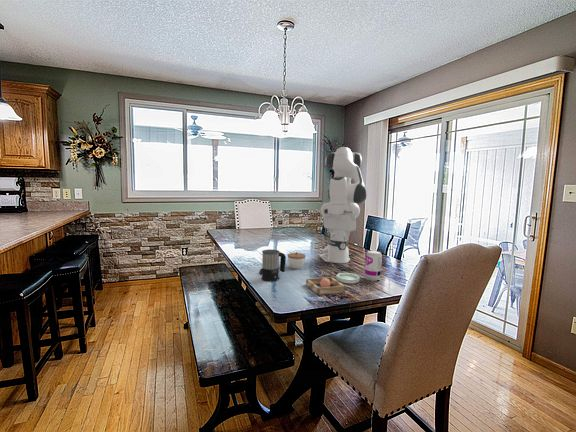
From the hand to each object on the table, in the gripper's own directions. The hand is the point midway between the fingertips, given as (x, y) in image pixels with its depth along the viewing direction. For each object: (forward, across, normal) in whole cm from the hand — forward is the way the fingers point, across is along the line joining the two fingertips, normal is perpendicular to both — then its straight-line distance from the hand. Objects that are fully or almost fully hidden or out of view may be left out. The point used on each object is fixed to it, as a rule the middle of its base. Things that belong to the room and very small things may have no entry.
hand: (339, 239), depth 144 cm
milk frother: (+22, +32, +23) cm, 45 cm away
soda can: (+25, +4, -26) cm, 37 cm away
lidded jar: (+22, +40, 0) cm, 45 cm away
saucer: (+24, +9, -13) cm, 29 cm away
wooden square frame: (+24, +4, +6) cm, 25 cm away
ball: (+21, +3, +6) cm, 23 cm away
